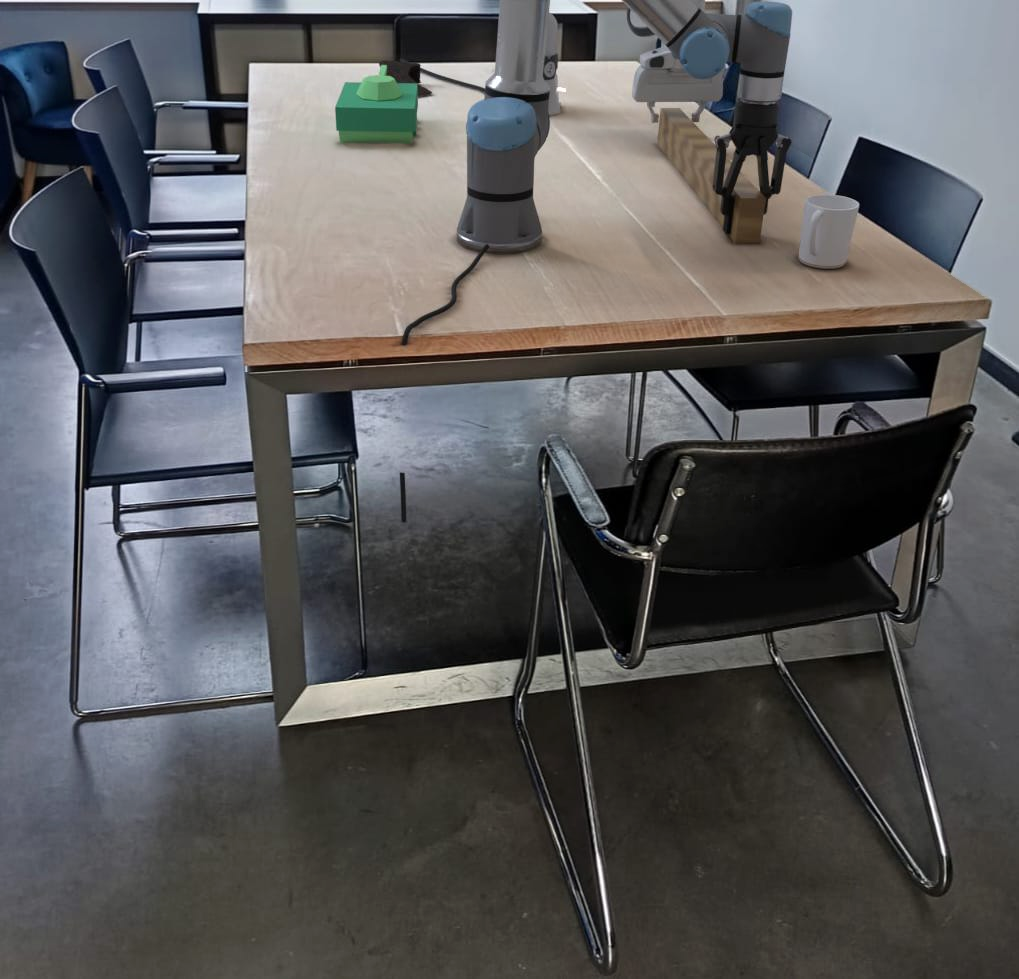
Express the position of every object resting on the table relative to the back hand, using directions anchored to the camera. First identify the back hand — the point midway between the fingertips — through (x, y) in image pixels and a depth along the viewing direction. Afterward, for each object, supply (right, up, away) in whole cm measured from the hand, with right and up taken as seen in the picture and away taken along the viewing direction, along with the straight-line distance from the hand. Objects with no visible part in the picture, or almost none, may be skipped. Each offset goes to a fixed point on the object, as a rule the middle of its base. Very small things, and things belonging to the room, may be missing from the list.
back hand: (674, 121), depth 249 cm
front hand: (+5, -36, -48) cm, 60 cm away
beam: (+2, -21, -22) cm, 30 cm away
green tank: (-69, +3, +15) cm, 71 cm away
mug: (+16, -45, -60) cm, 76 cm away
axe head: (-67, +26, +51) cm, 88 cm away
